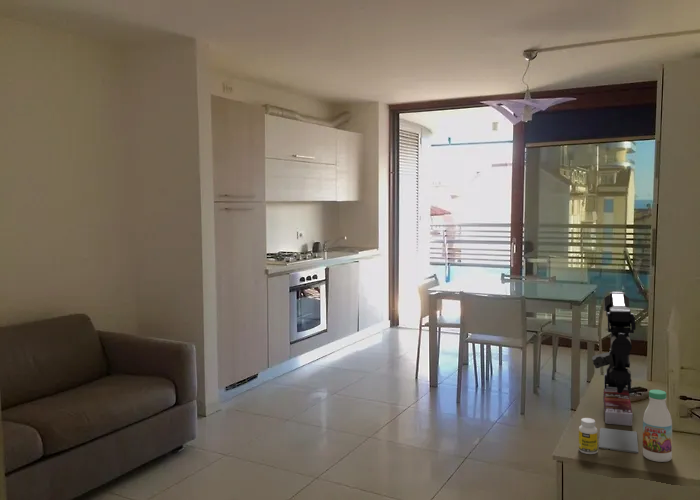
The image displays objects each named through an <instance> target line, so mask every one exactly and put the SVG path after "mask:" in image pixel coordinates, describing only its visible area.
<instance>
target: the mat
mask: <svg viewBox="0 0 700 500" xmlns="http://www.w3.org/2000/svg"><path fill="white" fill-rule="evenodd" d="M598 438H599V439H598V440H599V441H598V449H600V448H604V449H603V450H608V449H610V450H609V451H618V452H623V453H624V452H626V453H631V454H632V453H633V454H634V453H635V454H639V444H638V432H637V431H632V430H631V431H630V430H625V429H624V430H622V429H615V428H614V429H613V428H605V427H599V437H598Z"/></svg>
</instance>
